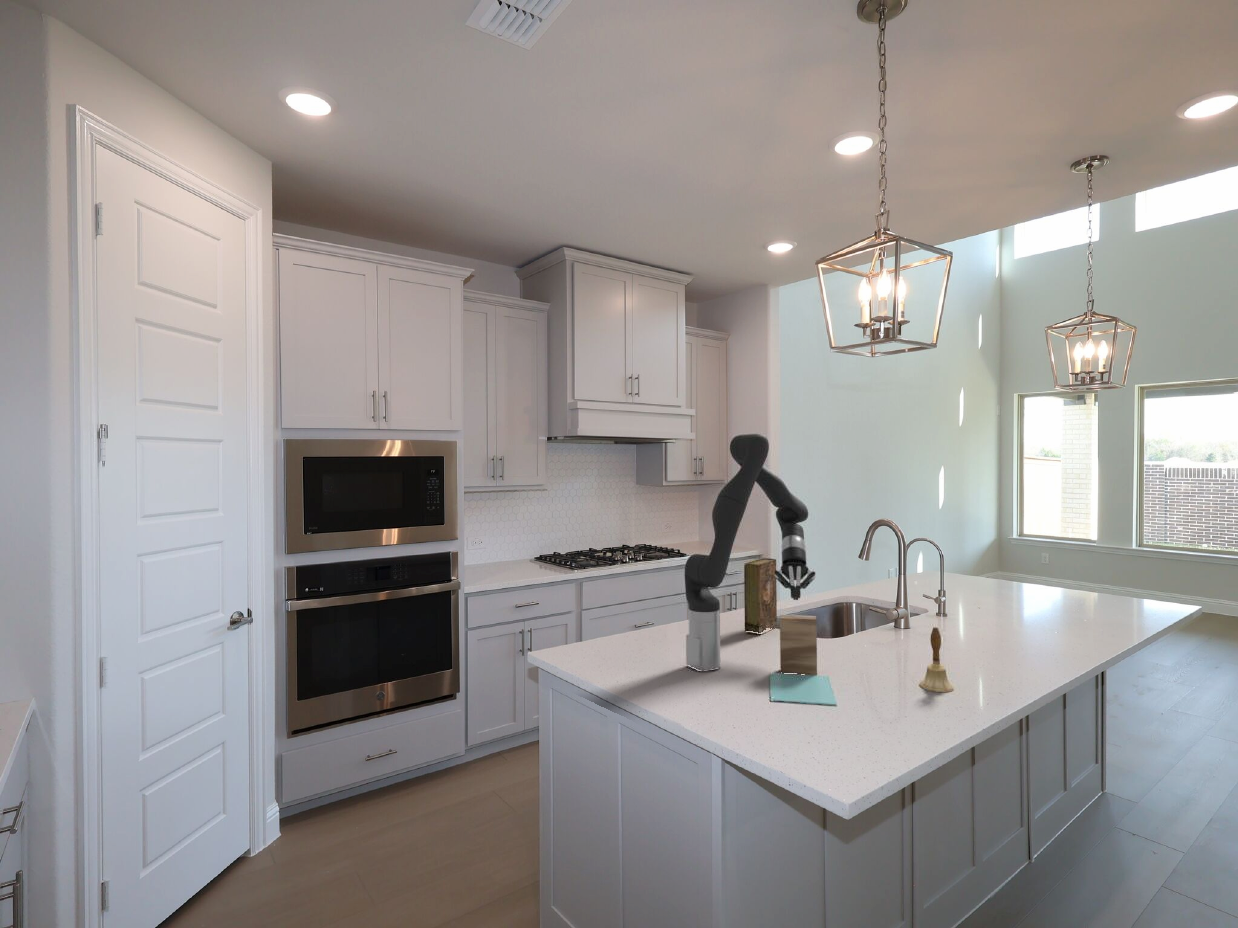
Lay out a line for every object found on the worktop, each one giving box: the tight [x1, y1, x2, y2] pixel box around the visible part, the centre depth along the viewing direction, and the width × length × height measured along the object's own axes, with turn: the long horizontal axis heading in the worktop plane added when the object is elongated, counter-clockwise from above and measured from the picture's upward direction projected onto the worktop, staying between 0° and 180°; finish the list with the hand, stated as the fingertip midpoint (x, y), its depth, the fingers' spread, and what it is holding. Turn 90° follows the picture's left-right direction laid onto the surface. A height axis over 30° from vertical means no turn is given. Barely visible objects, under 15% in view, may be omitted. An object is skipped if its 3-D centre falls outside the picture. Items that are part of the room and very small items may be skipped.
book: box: [743, 557, 778, 633], centre depth 237 cm, size 16×6×25 cm, turn 143°
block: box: [779, 614, 818, 675], centre depth 188 cm, size 4×10×16 cm, turn 77°
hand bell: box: [919, 626, 955, 693], centre depth 175 cm, size 8×8×16 cm
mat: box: [769, 672, 838, 707], centre depth 174 cm, size 22×16×1 cm
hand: (795, 598), depth 199 cm, fingers closed
